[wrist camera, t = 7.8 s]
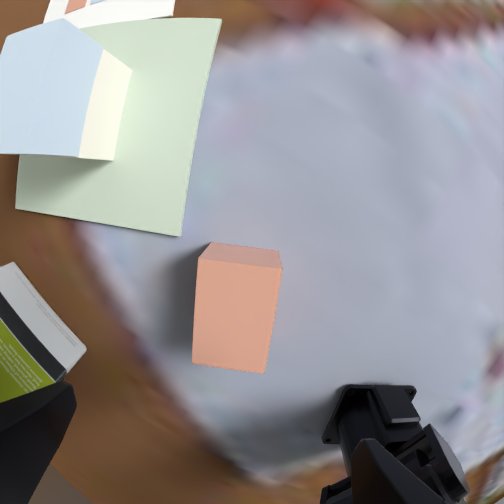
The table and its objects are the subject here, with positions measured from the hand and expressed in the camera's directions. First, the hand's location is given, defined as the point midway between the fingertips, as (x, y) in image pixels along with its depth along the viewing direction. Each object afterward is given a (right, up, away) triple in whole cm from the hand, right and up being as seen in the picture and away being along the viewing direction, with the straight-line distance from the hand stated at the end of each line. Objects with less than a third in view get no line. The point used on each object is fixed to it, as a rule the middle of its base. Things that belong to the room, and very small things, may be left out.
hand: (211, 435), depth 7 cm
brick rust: (0, +3, +11) cm, 12 cm away
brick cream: (-9, +14, +8) cm, 19 cm away
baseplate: (-9, +14, +9) cm, 19 cm away
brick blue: (-9, +13, +5) cm, 16 cm away
